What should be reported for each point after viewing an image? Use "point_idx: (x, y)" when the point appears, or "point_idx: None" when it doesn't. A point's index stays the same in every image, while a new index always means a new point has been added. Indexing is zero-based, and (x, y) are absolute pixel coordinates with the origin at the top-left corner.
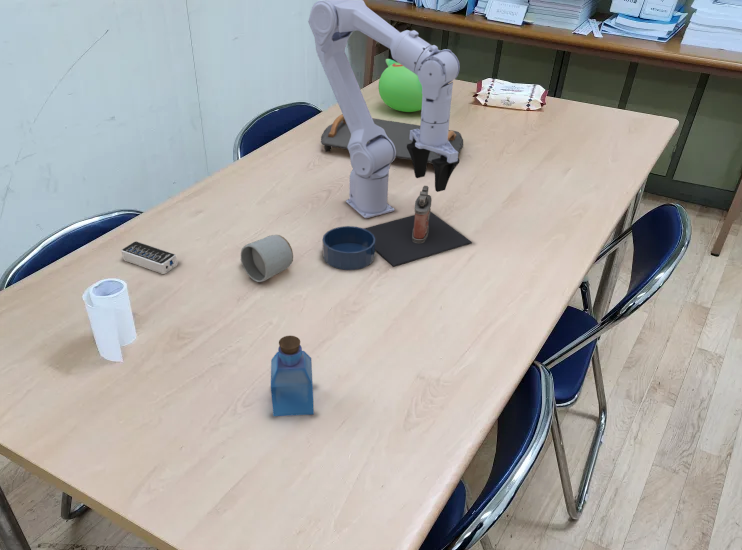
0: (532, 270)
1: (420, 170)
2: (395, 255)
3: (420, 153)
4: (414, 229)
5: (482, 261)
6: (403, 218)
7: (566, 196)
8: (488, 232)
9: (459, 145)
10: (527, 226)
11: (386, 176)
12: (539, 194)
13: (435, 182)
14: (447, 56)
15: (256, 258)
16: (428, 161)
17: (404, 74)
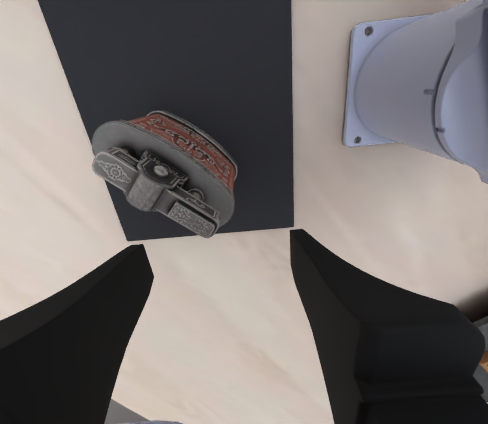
0: (12, 285)
1: (297, 265)
2: (87, 6)
3: (331, 342)
4: (150, 116)
5: (50, 223)
6: (289, 147)
7: (239, 417)
8: (166, 286)
9: (482, 394)
10: (168, 344)
11: (433, 132)
12: (262, 398)
13: (115, 264)
14: None
15: None
16: (479, 324)
17: None
